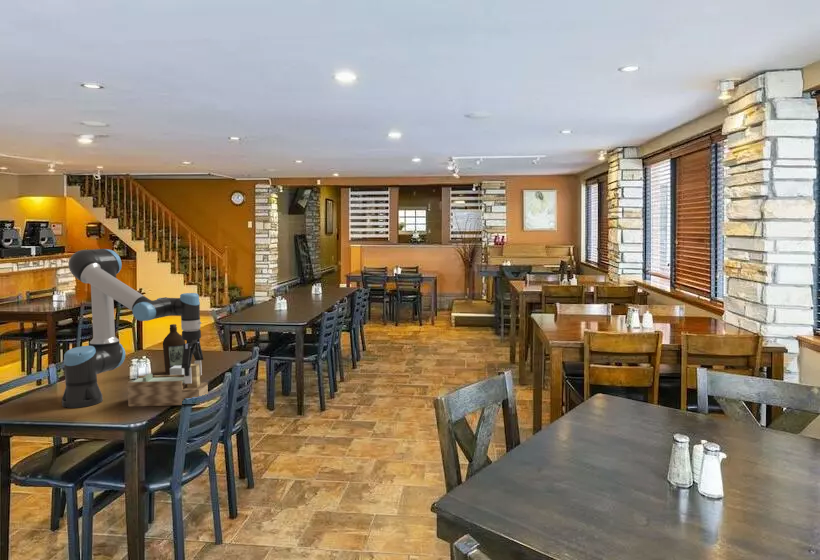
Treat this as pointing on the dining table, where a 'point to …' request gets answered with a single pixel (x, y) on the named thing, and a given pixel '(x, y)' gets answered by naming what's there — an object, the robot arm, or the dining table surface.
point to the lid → (159, 379)
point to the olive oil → (173, 349)
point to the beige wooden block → (194, 376)
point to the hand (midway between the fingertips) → (193, 379)
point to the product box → (176, 370)
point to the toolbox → (162, 392)
